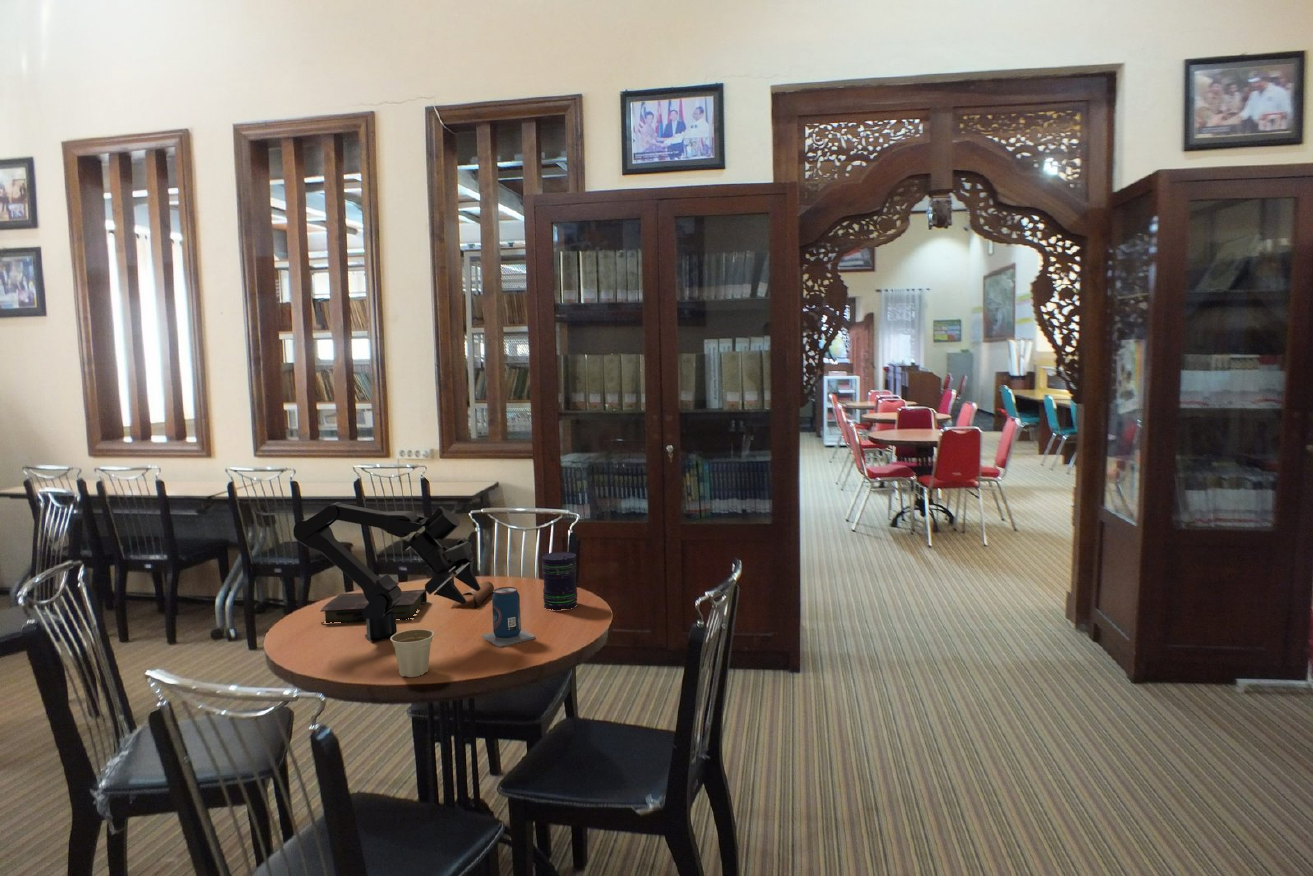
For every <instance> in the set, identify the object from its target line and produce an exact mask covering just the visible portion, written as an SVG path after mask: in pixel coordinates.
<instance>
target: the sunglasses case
mask: <svg viewBox="0 0 1313 876" xmlns="http://www.w3.org/2000/svg"><path fill="white" fill-rule="evenodd" d="M478 584H479V586H480V588H481V589H480V590H479V591H476V590H474V589H472V588H471V587H470V588H469V589H467V590H466V591H464V592H463V593H462V595H463V596H464V598H465V599H466V601H467V602H466V603H465V604H461V603H458V602H456V601H454V603H453V604H452V605H451V606H450V609H453V610H454V609H463V610H464V609H466V610H468V609H469V610H470V609H471V610H472V609H473V610H474V608H475V609H477V608H478V607H480V605H481V604H482V603H483V602H484V600H485V599H486V598H487V597H488V596H489V595H490V594H492V593H493V592H494V590H495V587H494V584H493V583H492V582H491V581H483V582H480V583H478ZM492 591H493V592H492Z"/></svg>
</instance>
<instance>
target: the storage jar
mask: <svg viewBox="0 0 1313 876" xmlns="http://www.w3.org/2000/svg"><path fill="white" fill-rule="evenodd" d="M576 557H577V556H576V553H574V552H570V551H555V552H548V553H545V554H543V555H542V557H541V560H542V561H541V563H542V564H541V566H542V567H541V568H542V569H541V570H542V572H541V573H542V576H543V590H542V592H543V595H542V596H543V597H542V598H543V604H544V605H543V608H546V609H551V610H552V609H553V610H561V609H571V608H574V607H575V606H576V605H577V606H578V587H577V583H576V582H577V581H576V575H577V561H576V560H577V559H576ZM546 609H545V610H546ZM574 609H575V608H574ZM571 610H572V609H571Z"/></svg>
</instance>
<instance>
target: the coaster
mask: <svg viewBox="0 0 1313 876" xmlns="http://www.w3.org/2000/svg"><path fill="white" fill-rule="evenodd" d="M482 637H483V638H482ZM481 638H482V639H484V638H485V639H484V640H486V641H487V640H488V642H489V641H491V642H492V643H491V642H490V643H491V644H493V645H494V646H496V647H498V646H499V647H500V648H503V647H502V646H504V647H507V646H511V645H515V643H516V644H519V643H518V642H520V643H523V642H528V641H530V640H534V639H536V635H535V634H532V633H530V632H528V631H526V630H524V629H523V628H521V631H520V633H519V635H518V636H517V637H516V638H513V639H506V640H503V639H498V638H497V637H496V636H495V634H494V632H493V631H492V632H490V633H485V634H482V635H481ZM522 641H523V642H522ZM499 647H498V648H499Z"/></svg>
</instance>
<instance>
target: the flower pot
mask: <svg viewBox="0 0 1313 876" xmlns="http://www.w3.org/2000/svg"><path fill="white" fill-rule="evenodd" d="M434 636H435V632H434V631H432V630H430V629H426V628H424V629H422V628H417V629H416V628H415V629H408V630H403V631H400V632H396V633H395V634H394V635H393V636H391V638H390V639H389V640H390V642H392V646H393V648H394V652H395V655H396V656H395V657H396V661H397V666H398V672H399V675H400V676H401V677H403V678H404V677H407V678H416V677H420V675H421V676H423V675H424V674H425V673H428V672H429V665H430V663H429V662H430V653H431V647H432V646H431V645H432V642H433V637H434Z"/></svg>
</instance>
